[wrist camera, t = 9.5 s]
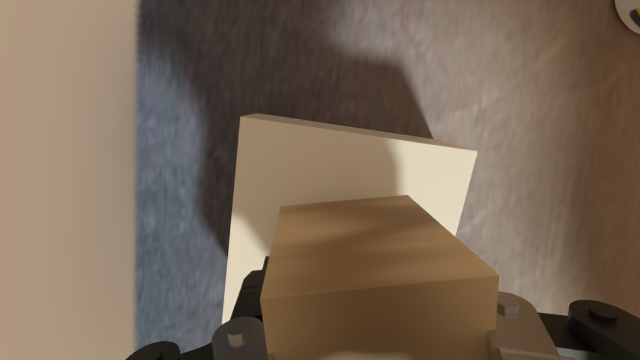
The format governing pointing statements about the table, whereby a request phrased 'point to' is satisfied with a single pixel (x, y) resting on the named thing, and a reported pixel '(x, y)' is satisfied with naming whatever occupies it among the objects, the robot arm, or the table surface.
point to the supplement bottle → (629, 13)
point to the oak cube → (374, 285)
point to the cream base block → (331, 179)
